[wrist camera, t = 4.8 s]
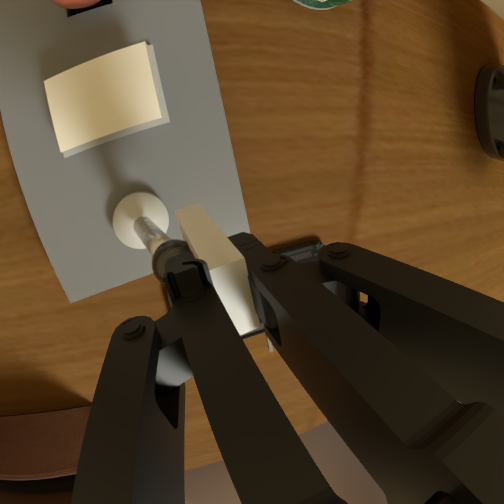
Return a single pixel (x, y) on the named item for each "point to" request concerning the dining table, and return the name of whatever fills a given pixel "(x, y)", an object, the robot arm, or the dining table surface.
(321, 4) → the canned tomato
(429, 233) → the dining table surface
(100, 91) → the rocker switch
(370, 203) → the dining table surface
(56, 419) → the letter holder
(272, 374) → the dining table surface
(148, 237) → the toggle lever
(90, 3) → the push button
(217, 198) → the control panel
